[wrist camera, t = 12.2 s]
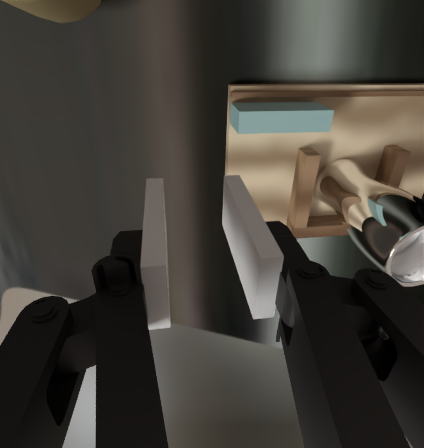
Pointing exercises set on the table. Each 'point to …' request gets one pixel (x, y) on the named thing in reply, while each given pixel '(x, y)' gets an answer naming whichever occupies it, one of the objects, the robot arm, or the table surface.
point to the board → (327, 148)
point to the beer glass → (377, 219)
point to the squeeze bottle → (57, 8)
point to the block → (280, 117)
